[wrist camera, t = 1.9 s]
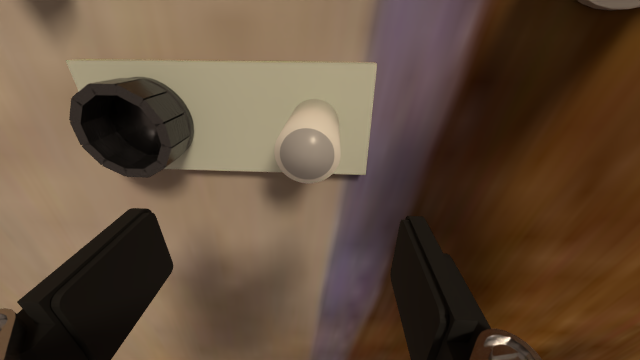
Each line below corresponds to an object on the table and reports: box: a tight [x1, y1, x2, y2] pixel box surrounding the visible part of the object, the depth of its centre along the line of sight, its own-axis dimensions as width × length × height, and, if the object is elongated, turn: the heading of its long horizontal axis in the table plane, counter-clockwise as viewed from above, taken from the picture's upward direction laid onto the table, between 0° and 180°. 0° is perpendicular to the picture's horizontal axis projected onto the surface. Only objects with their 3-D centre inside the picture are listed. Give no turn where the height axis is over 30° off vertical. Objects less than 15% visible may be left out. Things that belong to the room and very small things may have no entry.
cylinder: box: [274, 99, 341, 183], centre depth 20 cm, size 4×4×7 cm
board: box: [66, 59, 377, 175], centre depth 24 cm, size 26×10×2 cm, turn 90°
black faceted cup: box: [69, 77, 194, 177], centre depth 22 cm, size 8×8×4 cm
